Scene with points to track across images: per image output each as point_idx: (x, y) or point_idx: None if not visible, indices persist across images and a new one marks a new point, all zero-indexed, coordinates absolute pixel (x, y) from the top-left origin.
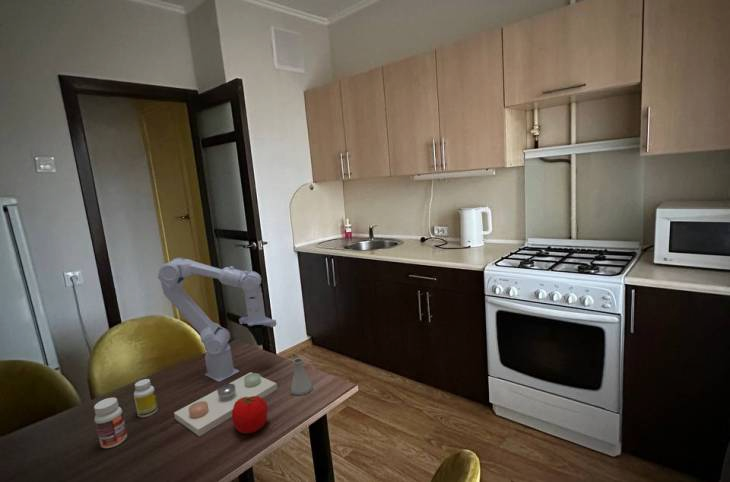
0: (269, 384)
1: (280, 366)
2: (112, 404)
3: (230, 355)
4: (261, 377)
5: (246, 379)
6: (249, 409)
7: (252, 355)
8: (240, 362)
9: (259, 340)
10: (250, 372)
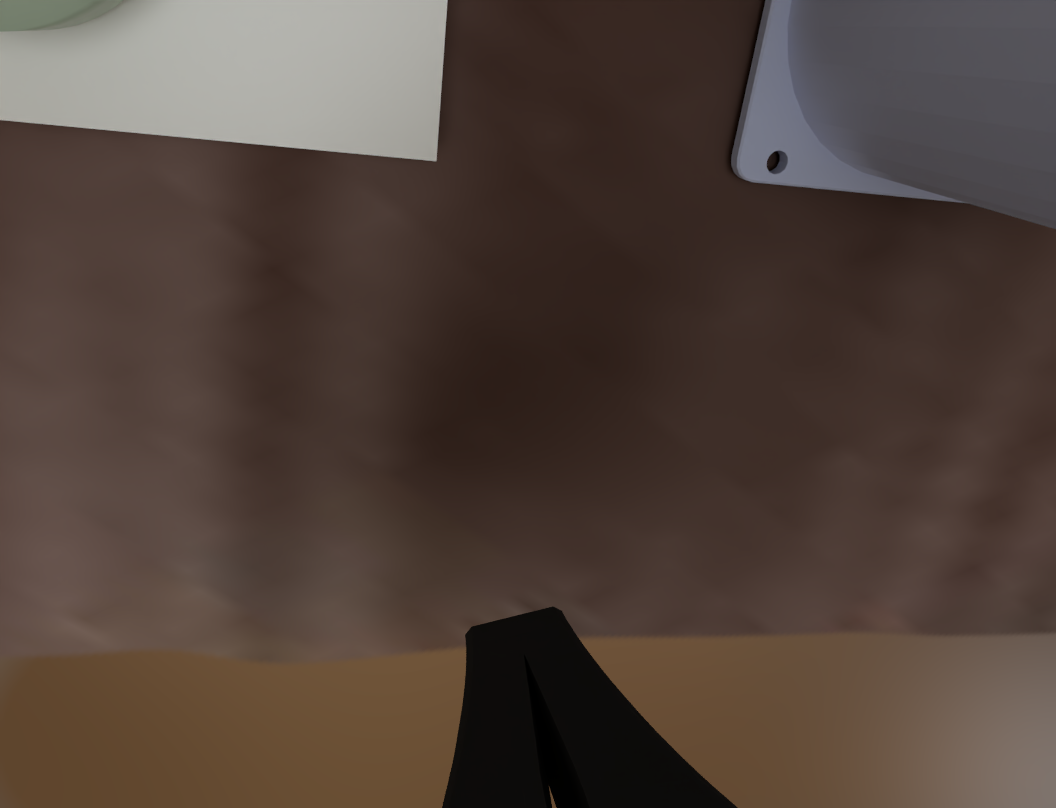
0: None
1: (297, 538)
2: None
3: (1002, 135)
4: (70, 109)
5: None
6: None
7: (863, 533)
8: (899, 360)
9: (459, 734)
10: (429, 149)
